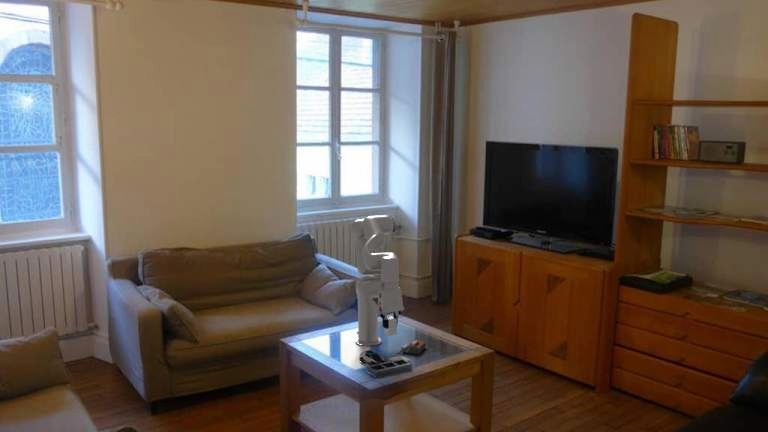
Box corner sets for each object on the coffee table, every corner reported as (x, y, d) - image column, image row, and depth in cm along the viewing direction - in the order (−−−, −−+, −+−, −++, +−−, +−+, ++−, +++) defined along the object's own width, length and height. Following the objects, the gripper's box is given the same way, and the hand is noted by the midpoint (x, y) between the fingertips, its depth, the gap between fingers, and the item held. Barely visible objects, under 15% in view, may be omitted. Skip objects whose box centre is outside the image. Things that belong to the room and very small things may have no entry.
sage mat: (388, 359, 304) (388, 358, 304) (401, 356, 308) (401, 355, 308) (396, 364, 298) (396, 362, 298) (409, 361, 302) (409, 359, 302)
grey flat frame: (376, 377, 282) (376, 372, 282) (366, 371, 289) (366, 366, 289) (411, 369, 292) (411, 363, 291) (401, 363, 298) (401, 358, 298)
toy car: (369, 359, 306) (369, 347, 305) (385, 366, 296) (385, 355, 295) (358, 362, 302) (358, 350, 301) (374, 369, 293) (374, 357, 292)
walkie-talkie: (409, 345, 324) (395, 356, 305) (409, 336, 323) (395, 347, 305) (426, 347, 321) (414, 359, 302) (427, 337, 320) (414, 349, 302)
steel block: (383, 333, 291) (383, 317, 290) (391, 331, 293) (391, 316, 292) (388, 335, 287) (388, 320, 286) (396, 334, 289) (396, 318, 288)
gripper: (377, 289, 280) (377, 332, 282) (411, 284, 288) (411, 326, 291) (368, 286, 286) (368, 327, 289) (401, 280, 295) (401, 321, 297)
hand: (390, 326), depth 290 cm, fingers closed on steel block, 4 cm apart
